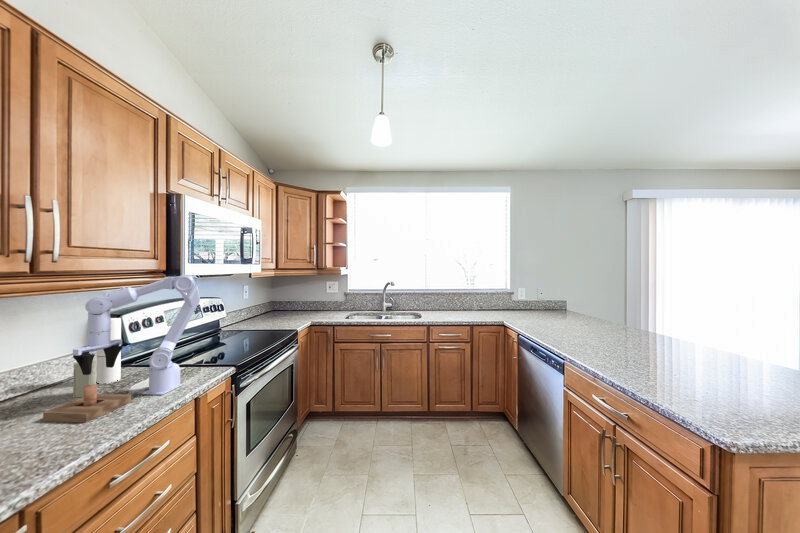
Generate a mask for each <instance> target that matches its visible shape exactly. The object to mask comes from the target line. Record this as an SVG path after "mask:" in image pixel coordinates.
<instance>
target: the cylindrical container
mask: <svg viewBox="0 0 800 533" xmlns="http://www.w3.org/2000/svg"><path fill="white" fill-rule="evenodd" d="M116 339H122V318H121V317H111V340H116ZM119 346H122V345H119ZM121 354H122V350H121V351H120V352H119V354H118V356H117V358H116V361H115V364H114V367H112V368H110V367H106V357H105V353H104V350H103V349H100V350H96V358H97V364H96V382H97V383H99V384H98V385H104V384H103V383H106V384H110V383H111V382H112V383H115V382H118V381H120V380H121V379H122V377H121V374H122V373H121V372H122V368H121V366H122V363H121V362H122V361H121V360H122V358H121V357H122V355H121ZM117 380H118V381H117ZM97 383H96V384H97ZM112 383H111V384H112Z"/></svg>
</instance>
